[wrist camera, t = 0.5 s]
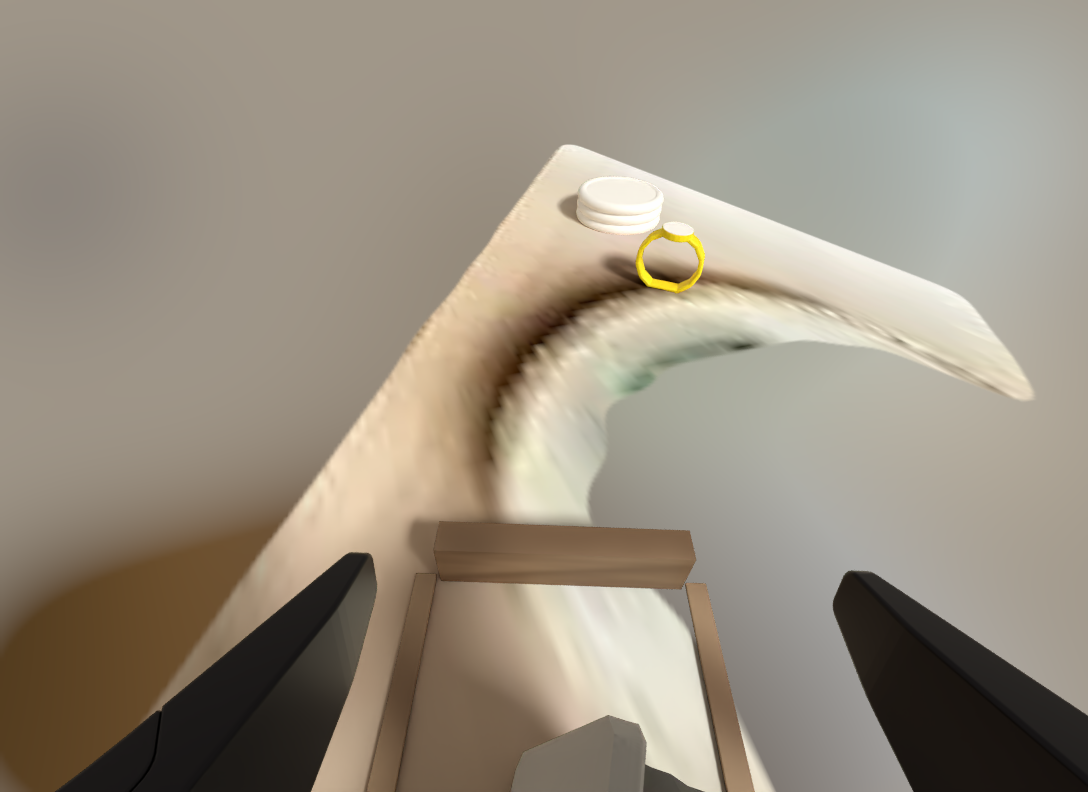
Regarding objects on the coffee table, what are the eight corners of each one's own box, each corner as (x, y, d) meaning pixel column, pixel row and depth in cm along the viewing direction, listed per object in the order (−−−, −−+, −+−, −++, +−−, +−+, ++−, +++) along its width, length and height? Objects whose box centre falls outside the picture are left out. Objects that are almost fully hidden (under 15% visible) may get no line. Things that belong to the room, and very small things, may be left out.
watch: (694, 289, 46) (716, 230, 42) (690, 303, 44) (713, 243, 40) (634, 272, 47) (650, 213, 43) (628, 285, 45) (644, 225, 41)
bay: (779, 905, 16) (817, 906, 14) (345, 892, 16) (319, 891, 14) (699, 562, 25) (715, 531, 23) (422, 551, 25) (413, 520, 23)
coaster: (645, 244, 52) (651, 213, 50) (563, 226, 55) (564, 195, 53) (667, 212, 59) (673, 183, 57) (592, 197, 62) (595, 169, 60)
